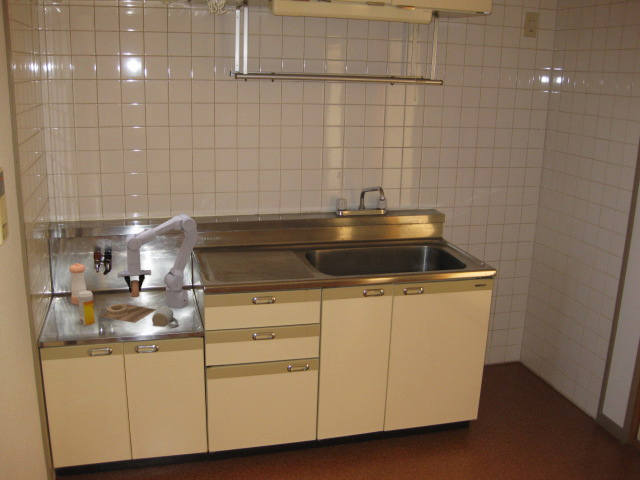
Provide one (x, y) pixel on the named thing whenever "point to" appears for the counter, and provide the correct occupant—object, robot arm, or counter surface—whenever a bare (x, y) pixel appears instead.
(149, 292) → the counter surface
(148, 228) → the robot arm
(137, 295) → the peg
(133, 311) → the board
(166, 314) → the ceramic mug
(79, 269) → the salt shaker
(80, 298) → the yellow labeled bottle
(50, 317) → the counter surface
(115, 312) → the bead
